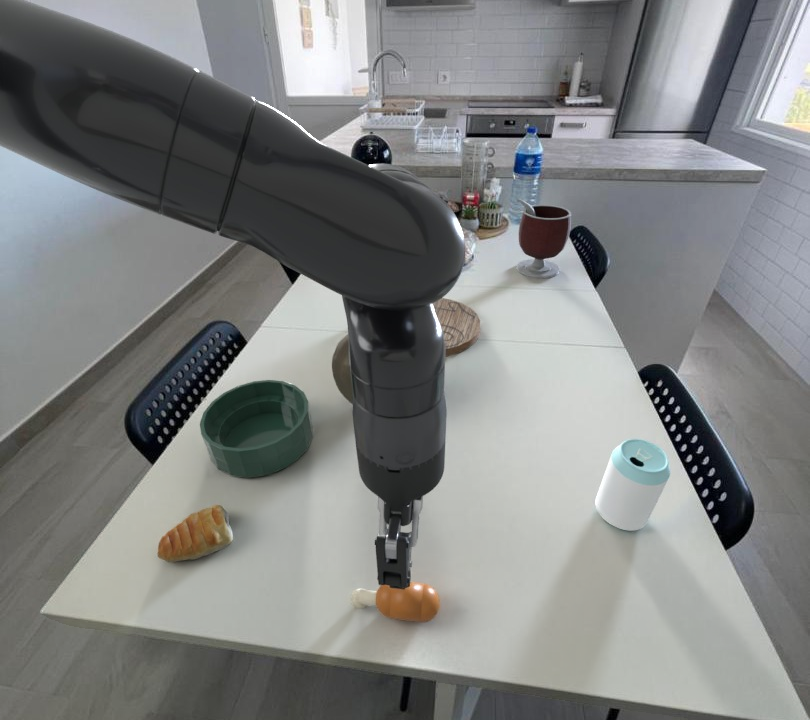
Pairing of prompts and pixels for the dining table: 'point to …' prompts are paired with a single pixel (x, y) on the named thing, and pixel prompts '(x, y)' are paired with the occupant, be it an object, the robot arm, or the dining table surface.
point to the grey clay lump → (342, 369)
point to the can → (632, 484)
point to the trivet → (457, 325)
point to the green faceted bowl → (257, 428)
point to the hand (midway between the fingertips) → (404, 543)
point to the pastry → (197, 535)
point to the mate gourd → (542, 238)
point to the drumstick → (400, 601)
